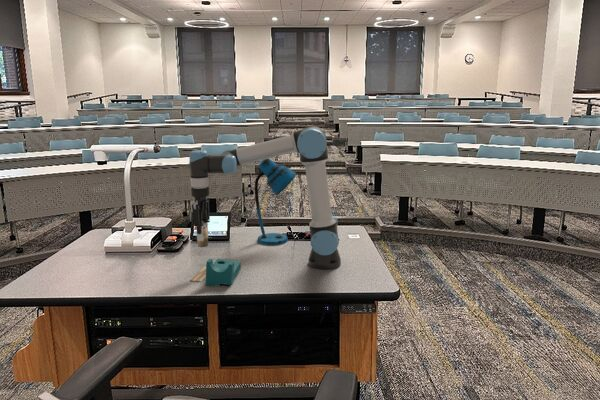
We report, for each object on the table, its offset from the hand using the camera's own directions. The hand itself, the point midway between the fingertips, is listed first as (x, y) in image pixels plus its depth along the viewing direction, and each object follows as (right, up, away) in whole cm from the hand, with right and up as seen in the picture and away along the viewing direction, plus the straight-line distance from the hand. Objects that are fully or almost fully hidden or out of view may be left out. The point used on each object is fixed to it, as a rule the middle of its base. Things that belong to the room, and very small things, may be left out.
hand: (202, 238), depth 213 cm
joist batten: (0, -16, +2) cm, 16 cm away
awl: (0, -3, +1) cm, 3 cm away
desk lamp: (+30, -5, +48) cm, 57 cm away
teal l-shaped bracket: (+9, -17, -2) cm, 20 cm away
